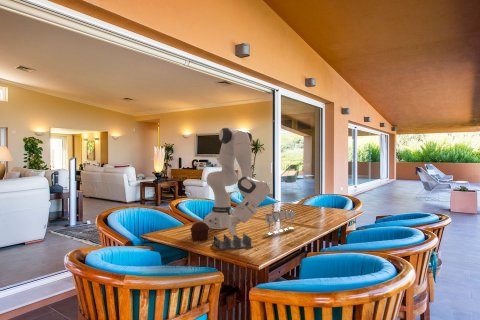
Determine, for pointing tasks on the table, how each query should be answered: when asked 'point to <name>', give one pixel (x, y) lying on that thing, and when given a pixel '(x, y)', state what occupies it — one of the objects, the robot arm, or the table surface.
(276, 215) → the goblet set
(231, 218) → the tall cream block
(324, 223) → the table surface
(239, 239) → the dish rack
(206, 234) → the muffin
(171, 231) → the table surface
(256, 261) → the table surface
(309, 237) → the table surface
